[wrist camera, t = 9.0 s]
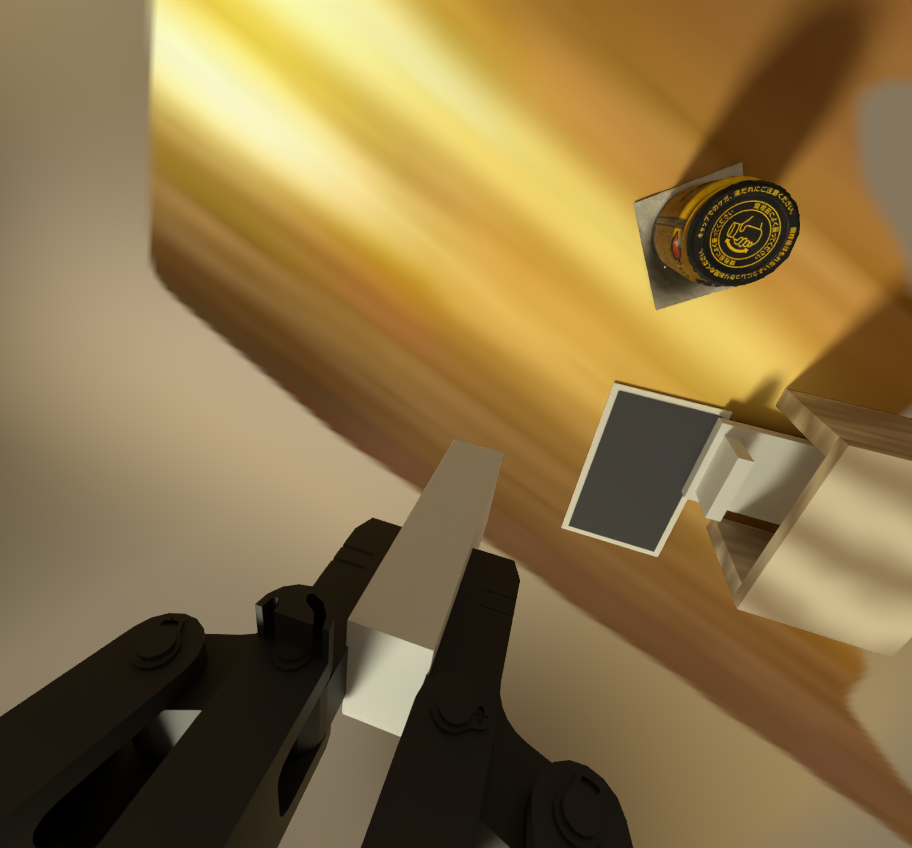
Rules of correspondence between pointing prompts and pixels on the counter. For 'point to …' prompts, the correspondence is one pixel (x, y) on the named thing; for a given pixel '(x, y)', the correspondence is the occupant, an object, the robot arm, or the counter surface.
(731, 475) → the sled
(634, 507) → the pad
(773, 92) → the counter surface
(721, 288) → the condiment
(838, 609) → the tunnel
